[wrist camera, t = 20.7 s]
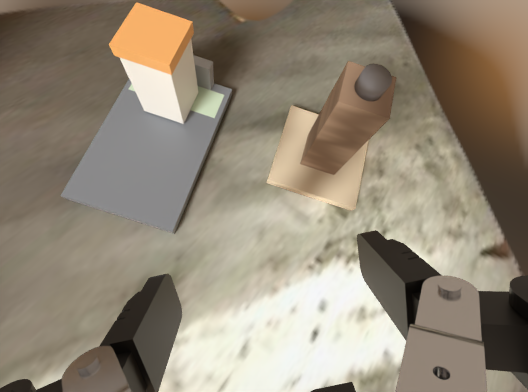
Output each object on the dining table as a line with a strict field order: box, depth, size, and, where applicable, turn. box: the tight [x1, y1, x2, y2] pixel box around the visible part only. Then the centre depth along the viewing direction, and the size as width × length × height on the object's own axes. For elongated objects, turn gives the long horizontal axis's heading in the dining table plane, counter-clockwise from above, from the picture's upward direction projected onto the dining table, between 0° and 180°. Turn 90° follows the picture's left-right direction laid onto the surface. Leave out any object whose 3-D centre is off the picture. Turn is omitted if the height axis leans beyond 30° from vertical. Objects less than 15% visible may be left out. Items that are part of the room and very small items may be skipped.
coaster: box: [267, 105, 369, 211], centre depth 29 cm, size 9×9×1 cm
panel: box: [61, 55, 232, 234], centre depth 26 cm, size 10×16×4 cm, turn 163°
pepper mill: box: [300, 61, 396, 175], centre depth 23 cm, size 4×4×11 cm
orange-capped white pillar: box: [109, 2, 198, 124], centre depth 24 cm, size 4×4×8 cm
